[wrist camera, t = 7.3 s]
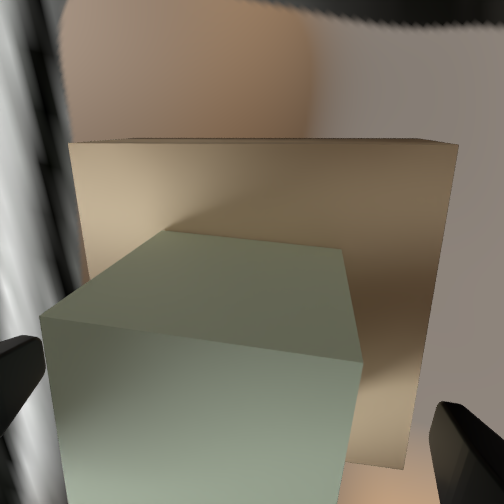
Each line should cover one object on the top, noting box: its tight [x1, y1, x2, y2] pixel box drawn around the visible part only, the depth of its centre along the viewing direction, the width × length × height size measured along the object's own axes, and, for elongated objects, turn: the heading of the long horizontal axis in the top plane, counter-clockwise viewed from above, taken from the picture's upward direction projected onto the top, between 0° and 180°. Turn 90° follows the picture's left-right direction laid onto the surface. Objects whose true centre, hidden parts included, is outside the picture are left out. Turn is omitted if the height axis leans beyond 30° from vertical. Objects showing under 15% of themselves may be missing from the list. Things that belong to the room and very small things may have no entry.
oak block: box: [68, 138, 459, 470], centre depth 13 cm, size 10×10×4 cm
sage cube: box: [39, 230, 363, 504], centre depth 9 cm, size 5×5×5 cm
